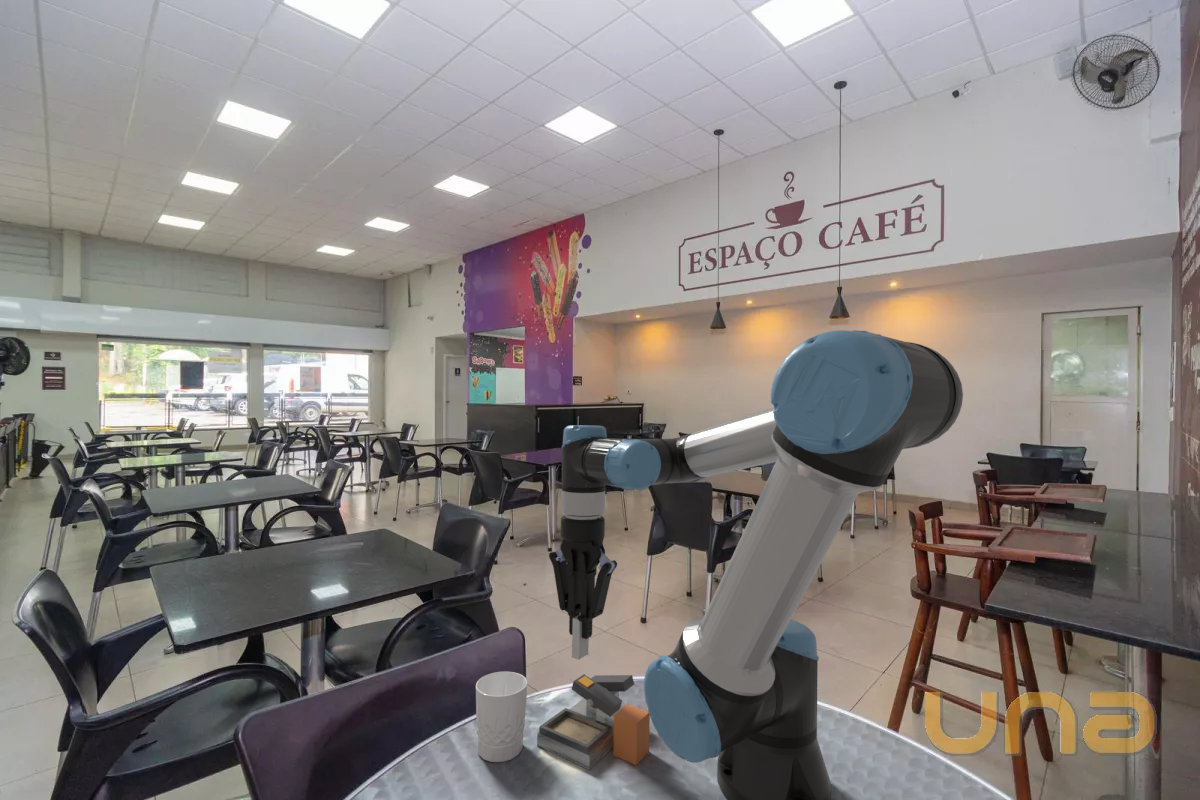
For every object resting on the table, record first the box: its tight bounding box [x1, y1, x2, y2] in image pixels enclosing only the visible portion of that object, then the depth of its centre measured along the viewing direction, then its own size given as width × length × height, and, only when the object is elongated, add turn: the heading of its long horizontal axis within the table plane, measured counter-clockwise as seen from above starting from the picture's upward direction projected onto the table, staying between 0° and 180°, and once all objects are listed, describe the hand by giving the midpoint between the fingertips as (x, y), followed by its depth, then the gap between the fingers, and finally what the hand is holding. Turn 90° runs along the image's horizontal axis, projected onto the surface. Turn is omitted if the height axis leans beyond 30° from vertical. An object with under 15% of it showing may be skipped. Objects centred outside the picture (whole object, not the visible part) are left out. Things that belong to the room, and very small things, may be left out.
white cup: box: [475, 671, 528, 763], centre depth 82 cm, size 8×8×10 cm
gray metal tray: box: [536, 692, 627, 771], centre depth 87 cm, size 10×15×4 cm, turn 146°
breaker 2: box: [590, 674, 635, 693], centre depth 91 cm, size 8×3×2 cm, turn 57°
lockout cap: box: [612, 703, 651, 766], centre depth 82 cm, size 4×4×6 cm
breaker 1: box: [571, 673, 623, 717], centre depth 88 cm, size 8×3×2 cm, turn 55°
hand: (580, 655), depth 90 cm, fingers closed
